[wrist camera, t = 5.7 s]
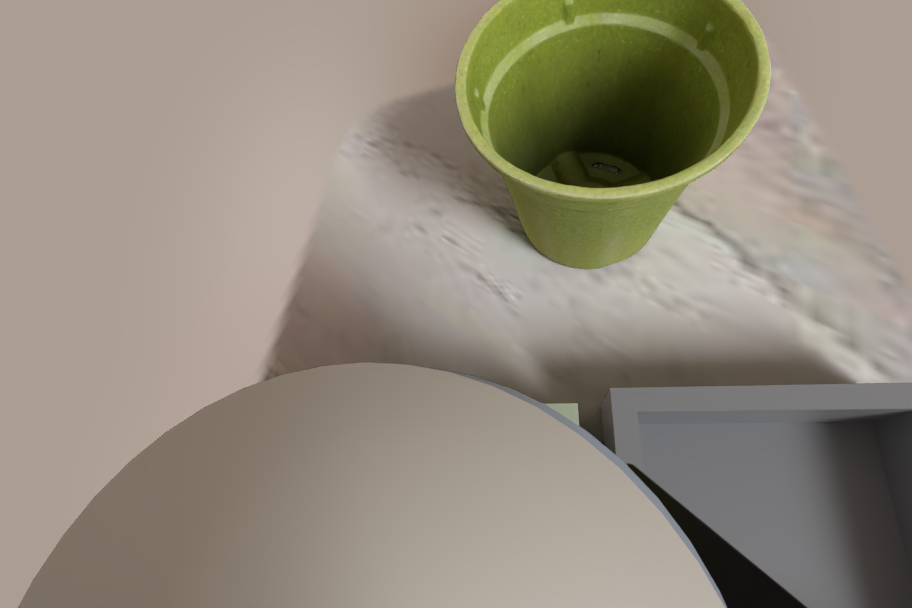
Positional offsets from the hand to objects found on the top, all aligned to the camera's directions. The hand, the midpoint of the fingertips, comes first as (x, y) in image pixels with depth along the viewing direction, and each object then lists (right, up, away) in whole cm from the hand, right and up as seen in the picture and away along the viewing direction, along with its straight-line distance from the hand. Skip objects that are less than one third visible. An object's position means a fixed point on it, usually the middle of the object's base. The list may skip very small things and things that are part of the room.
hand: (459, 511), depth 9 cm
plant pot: (+6, +8, +16) cm, 18 cm away
